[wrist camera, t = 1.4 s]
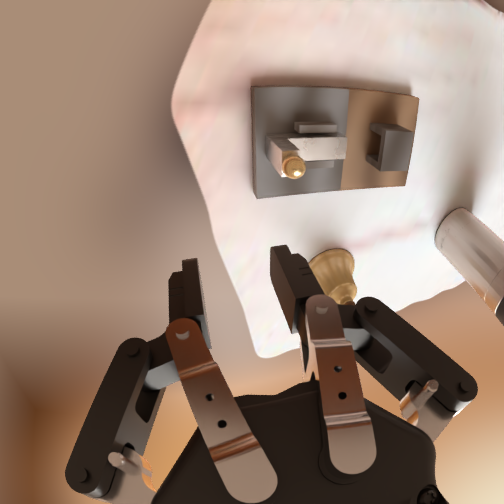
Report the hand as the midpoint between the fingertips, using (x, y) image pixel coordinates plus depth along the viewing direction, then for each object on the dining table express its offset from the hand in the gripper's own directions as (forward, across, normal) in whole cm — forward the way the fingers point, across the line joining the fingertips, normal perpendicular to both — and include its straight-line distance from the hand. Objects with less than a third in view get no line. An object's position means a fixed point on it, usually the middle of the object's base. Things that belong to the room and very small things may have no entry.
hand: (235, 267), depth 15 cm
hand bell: (+19, -16, +20) cm, 32 cm away
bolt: (+17, -10, 0) cm, 20 cm away
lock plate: (+19, -15, 0) cm, 24 cm away
